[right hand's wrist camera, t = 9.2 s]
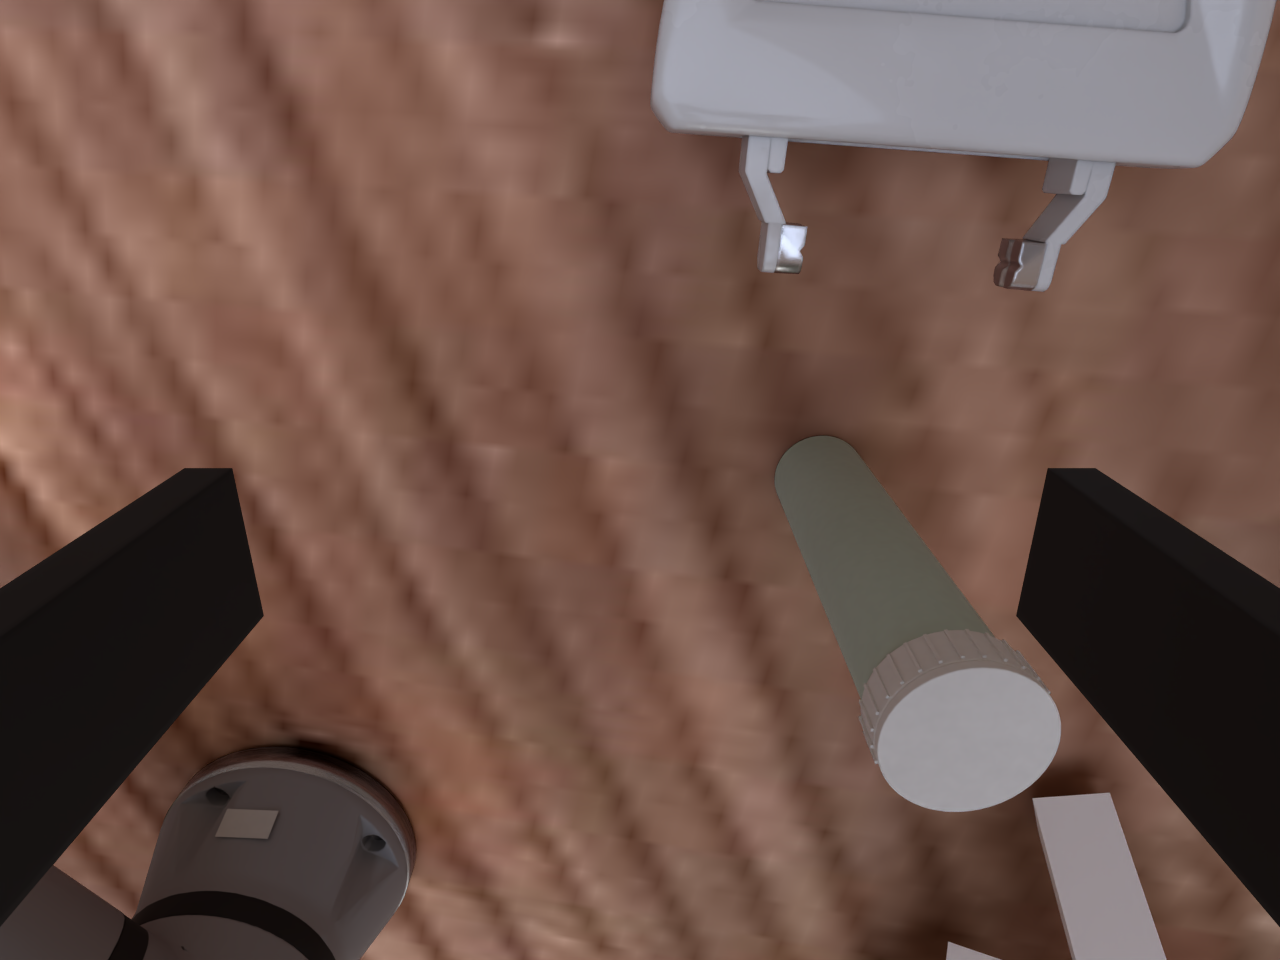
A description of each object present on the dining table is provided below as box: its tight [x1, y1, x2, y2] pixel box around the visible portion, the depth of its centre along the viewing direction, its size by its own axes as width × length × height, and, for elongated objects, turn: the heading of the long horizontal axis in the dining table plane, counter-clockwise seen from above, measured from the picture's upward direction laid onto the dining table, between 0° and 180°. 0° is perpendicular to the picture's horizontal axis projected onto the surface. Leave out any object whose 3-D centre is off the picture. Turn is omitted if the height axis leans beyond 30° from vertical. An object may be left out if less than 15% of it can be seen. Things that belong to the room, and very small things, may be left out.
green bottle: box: [775, 436, 995, 700], centre depth 31 cm, size 5×5×19 cm
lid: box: [859, 629, 1061, 812], centre depth 22 cm, size 5×5×2 cm
